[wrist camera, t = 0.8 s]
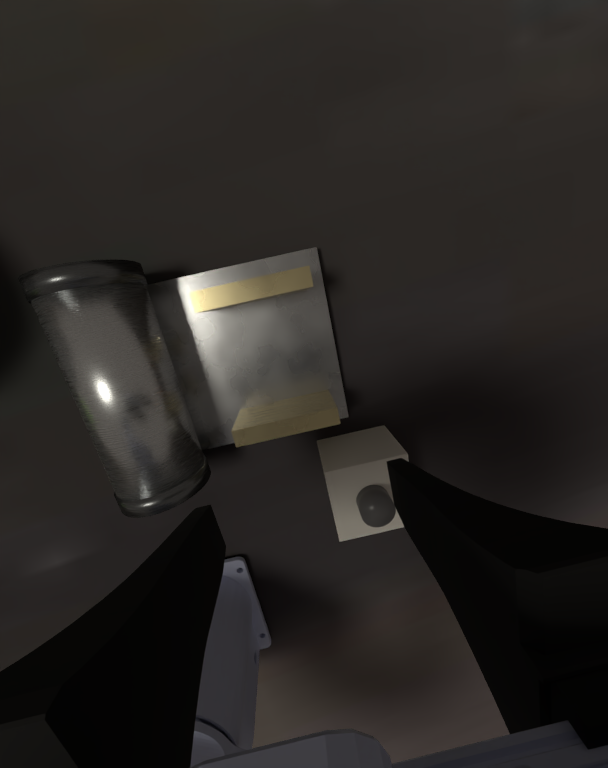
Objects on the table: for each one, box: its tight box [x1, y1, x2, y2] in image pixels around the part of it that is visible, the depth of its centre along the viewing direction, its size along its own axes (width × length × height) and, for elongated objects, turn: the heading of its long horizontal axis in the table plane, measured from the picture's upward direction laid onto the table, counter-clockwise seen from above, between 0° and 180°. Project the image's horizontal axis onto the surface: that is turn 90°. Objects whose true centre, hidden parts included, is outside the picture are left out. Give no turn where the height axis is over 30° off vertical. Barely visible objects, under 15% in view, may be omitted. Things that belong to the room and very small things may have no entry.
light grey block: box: [317, 425, 409, 542], centre depth 20 cm, size 5×5×6 cm
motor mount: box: [18, 247, 349, 518], centre depth 17 cm, size 13×15×6 cm
